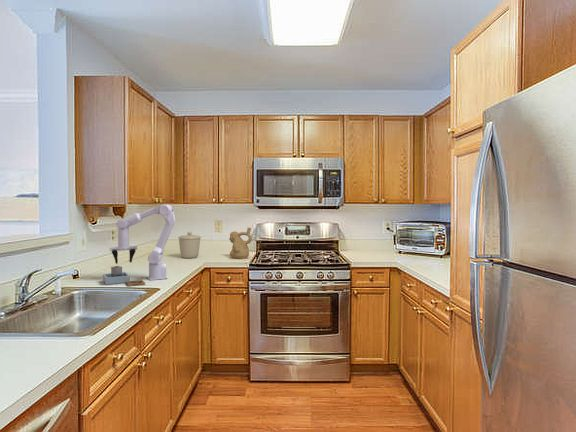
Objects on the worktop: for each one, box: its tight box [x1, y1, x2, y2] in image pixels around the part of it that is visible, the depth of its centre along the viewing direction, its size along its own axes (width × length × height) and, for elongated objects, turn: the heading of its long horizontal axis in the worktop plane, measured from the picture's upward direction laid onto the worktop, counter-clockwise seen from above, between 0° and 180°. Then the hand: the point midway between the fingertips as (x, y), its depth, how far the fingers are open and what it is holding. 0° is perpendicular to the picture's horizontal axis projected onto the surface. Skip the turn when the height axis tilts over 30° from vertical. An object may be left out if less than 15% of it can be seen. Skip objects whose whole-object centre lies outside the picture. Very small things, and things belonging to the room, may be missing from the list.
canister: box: [177, 231, 202, 259], centre depth 305 cm, size 18×18×21 cm
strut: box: [110, 265, 123, 277], centre depth 211 cm, size 4×4×8 cm
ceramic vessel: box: [229, 227, 253, 260], centre depth 307 cm, size 17×20×25 cm
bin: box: [102, 271, 131, 286], centre depth 211 cm, size 12×12×4 cm
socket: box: [125, 279, 146, 287], centre depth 206 cm, size 8×8×1 cm
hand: (123, 262), depth 219 cm, fingers open, 7 cm apart
